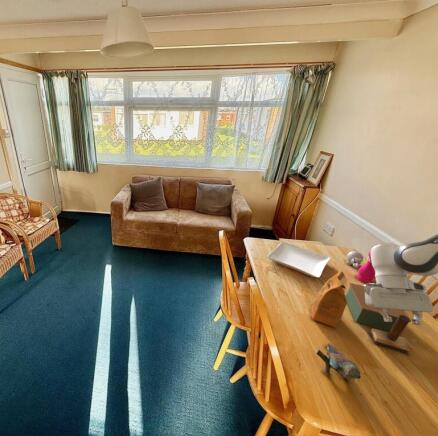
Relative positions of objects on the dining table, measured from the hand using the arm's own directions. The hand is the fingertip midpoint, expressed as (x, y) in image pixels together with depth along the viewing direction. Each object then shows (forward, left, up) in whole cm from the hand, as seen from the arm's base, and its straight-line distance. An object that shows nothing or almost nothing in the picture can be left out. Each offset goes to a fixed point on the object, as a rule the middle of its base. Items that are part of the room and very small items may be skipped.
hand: (402, 323), depth 84 cm
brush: (0, 0, -12) cm, 12 cm away
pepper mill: (-5, -44, -12) cm, 45 cm away
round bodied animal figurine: (-3, -56, -12) cm, 57 cm away
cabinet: (+1, -16, -12) cm, 20 cm away
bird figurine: (+23, +21, -12) cm, 34 cm away
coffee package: (+20, -6, -12) cm, 24 cm away
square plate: (+26, -48, -12) cm, 56 cm away
